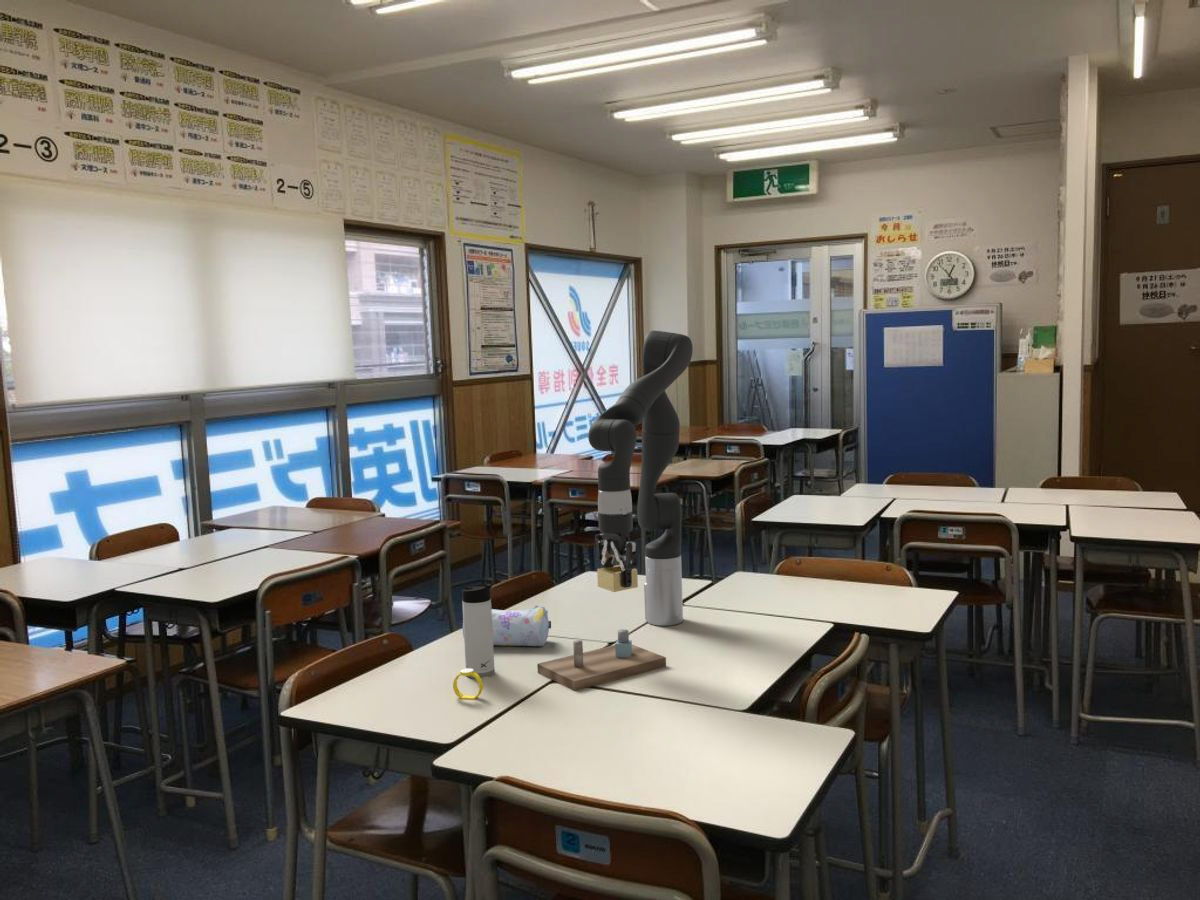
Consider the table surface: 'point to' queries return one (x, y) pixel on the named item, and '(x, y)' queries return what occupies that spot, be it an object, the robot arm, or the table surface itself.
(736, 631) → the table surface
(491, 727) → the table surface
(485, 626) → the travel mug
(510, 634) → the pencil case
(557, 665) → the workboard
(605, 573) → the collar
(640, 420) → the robot arm
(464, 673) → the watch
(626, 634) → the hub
